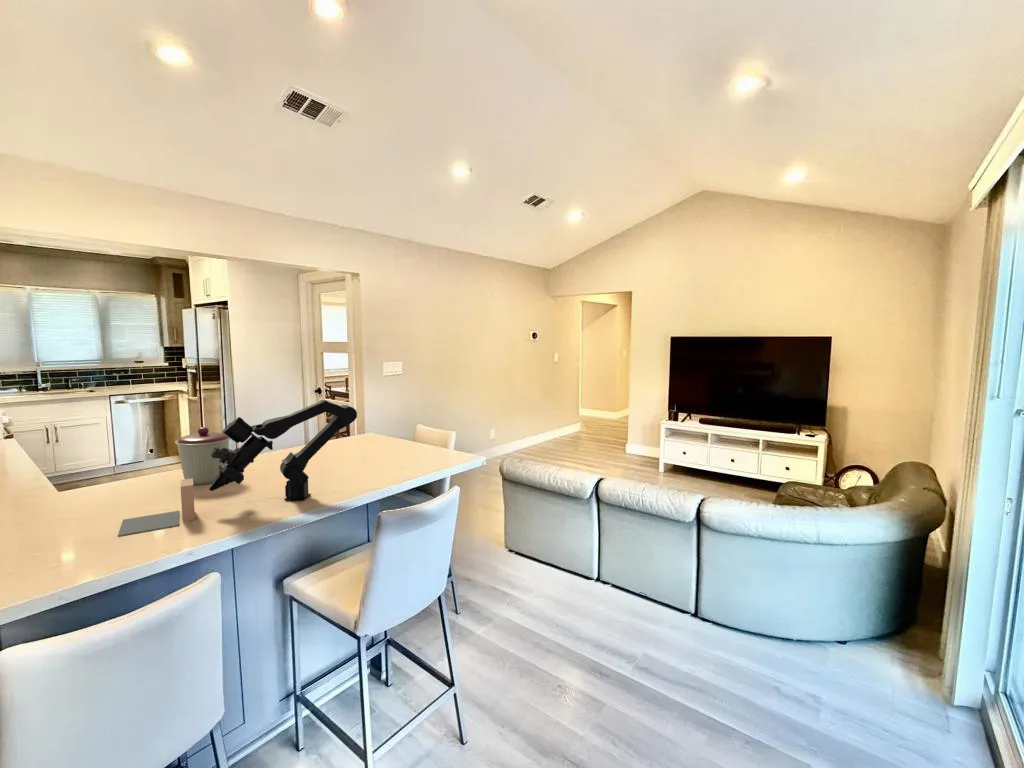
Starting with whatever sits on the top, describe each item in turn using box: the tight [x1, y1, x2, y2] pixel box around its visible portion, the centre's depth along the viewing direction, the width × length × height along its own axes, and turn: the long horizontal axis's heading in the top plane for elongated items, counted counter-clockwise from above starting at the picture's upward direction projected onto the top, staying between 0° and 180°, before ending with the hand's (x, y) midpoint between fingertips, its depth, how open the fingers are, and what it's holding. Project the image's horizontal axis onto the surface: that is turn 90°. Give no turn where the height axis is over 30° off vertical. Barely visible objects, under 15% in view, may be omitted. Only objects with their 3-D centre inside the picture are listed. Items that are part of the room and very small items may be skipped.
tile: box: [180, 478, 196, 523], centre depth 146 cm, size 3×8×11 cm, turn 35°
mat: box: [117, 510, 180, 537], centre depth 141 cm, size 14×14×1 cm
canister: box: [174, 426, 231, 485], centre depth 182 cm, size 18×18×21 cm
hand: (210, 490), depth 149 cm, fingers closed
